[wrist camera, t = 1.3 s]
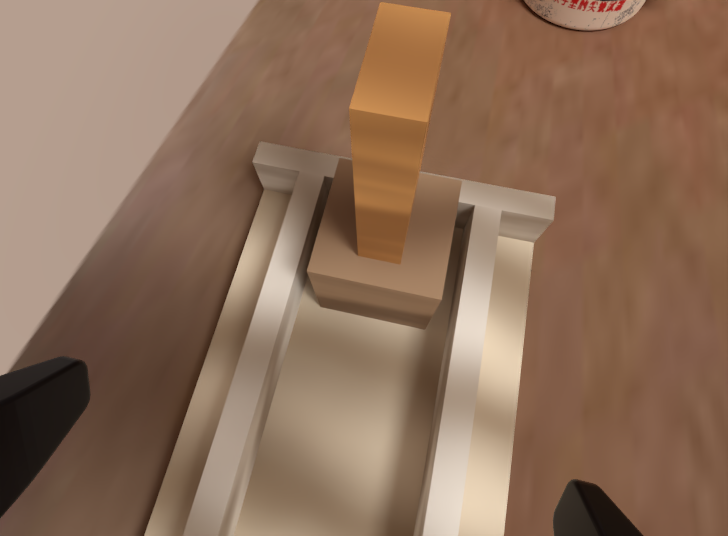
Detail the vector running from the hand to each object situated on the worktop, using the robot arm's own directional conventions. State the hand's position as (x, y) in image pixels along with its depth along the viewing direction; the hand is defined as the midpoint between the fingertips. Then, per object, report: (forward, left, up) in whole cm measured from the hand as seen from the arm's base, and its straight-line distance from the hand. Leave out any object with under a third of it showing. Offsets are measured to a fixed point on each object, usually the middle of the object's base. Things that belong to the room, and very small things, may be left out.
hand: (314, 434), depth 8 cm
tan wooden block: (+8, 0, -12) cm, 14 cm away
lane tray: (+3, 0, -13) cm, 13 cm away
